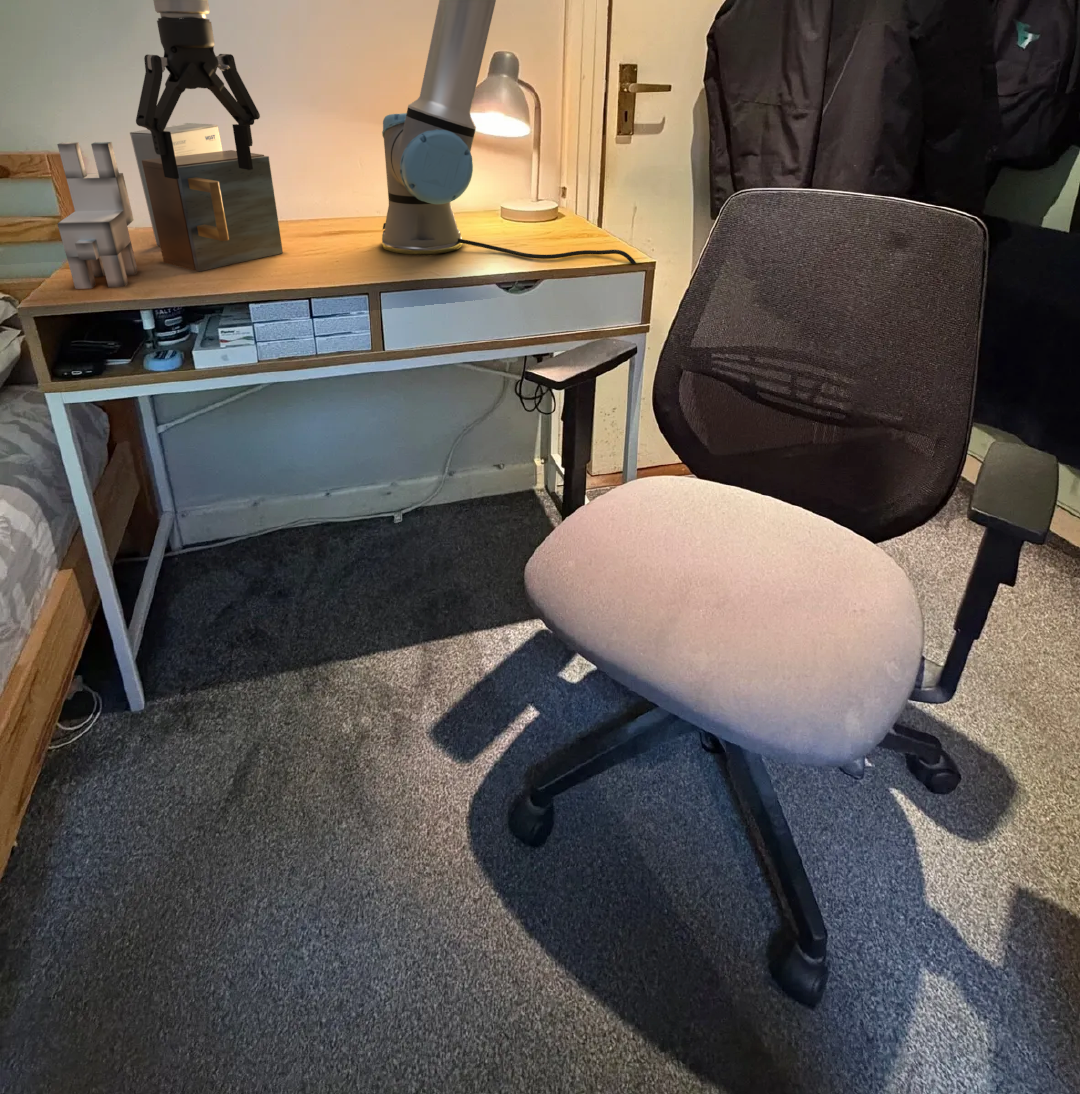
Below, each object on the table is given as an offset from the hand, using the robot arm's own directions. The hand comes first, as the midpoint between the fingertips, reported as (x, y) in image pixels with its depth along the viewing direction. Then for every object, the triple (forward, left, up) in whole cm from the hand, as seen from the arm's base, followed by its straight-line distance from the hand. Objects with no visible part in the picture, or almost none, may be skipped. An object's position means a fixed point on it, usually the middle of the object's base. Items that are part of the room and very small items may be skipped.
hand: (210, 173), depth 135 cm
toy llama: (+14, +13, -16) cm, 25 cm away
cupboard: (+12, -7, -16) cm, 21 cm away
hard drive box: (+28, -13, -16) cm, 35 cm away
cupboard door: (+3, -7, -16) cm, 18 cm away
